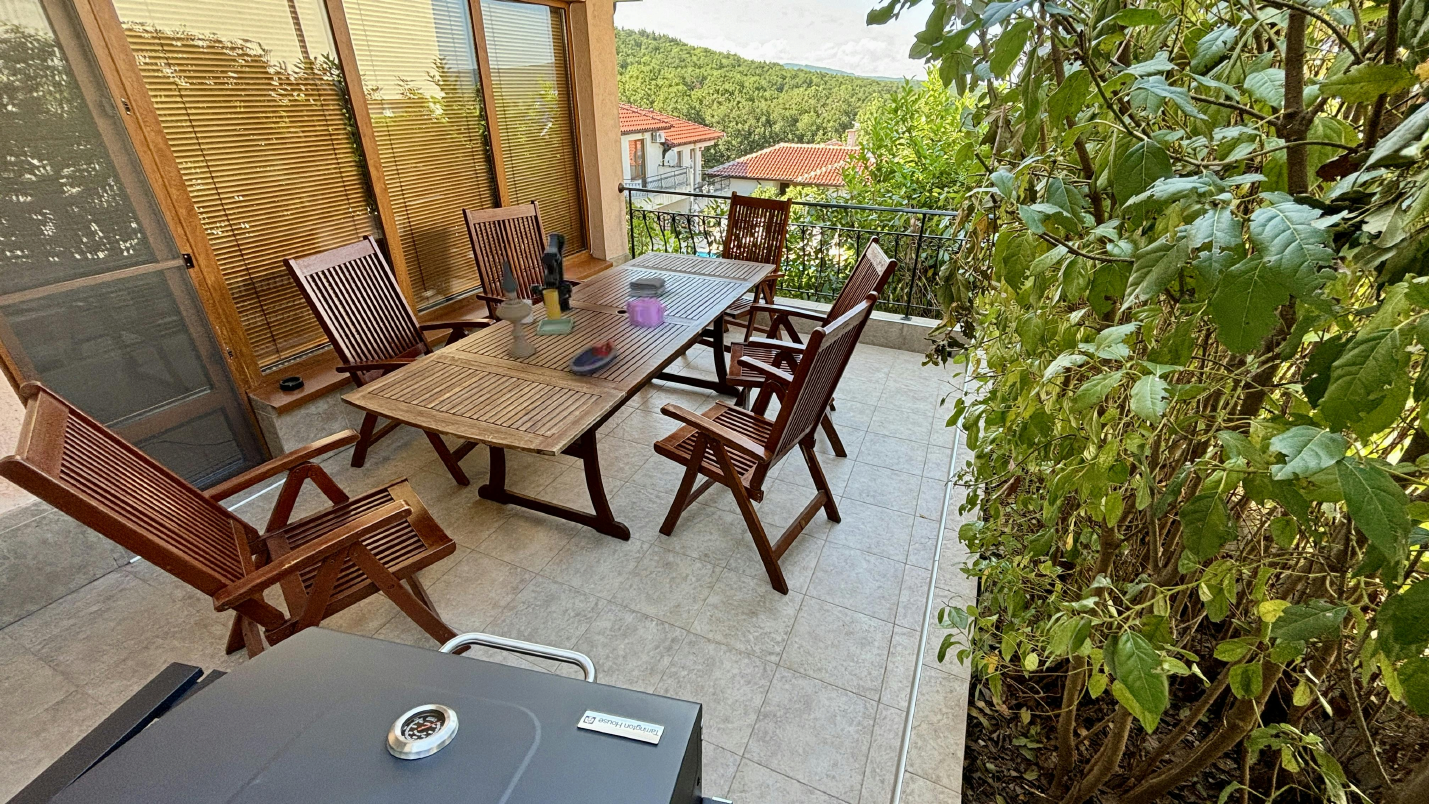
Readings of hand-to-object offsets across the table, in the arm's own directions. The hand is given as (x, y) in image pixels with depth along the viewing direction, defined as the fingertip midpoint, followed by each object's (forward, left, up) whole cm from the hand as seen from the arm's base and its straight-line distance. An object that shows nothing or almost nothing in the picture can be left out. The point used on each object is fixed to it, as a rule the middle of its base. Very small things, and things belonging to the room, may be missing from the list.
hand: (551, 304), depth 282 cm
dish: (+20, +46, -13) cm, 52 cm away
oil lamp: (+28, +9, -13) cm, 32 cm away
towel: (-69, 0, -13) cm, 70 cm away
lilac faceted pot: (-31, +32, -13) cm, 46 cm away
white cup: (-1, -22, -13) cm, 25 cm away
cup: (-1, -1, -7) cm, 7 cm away
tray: (-1, -1, -12) cm, 12 cm away
